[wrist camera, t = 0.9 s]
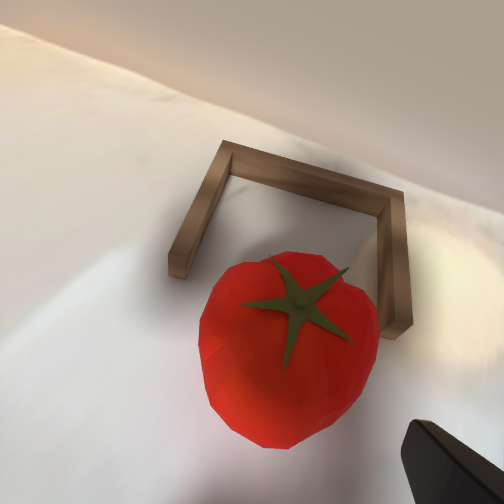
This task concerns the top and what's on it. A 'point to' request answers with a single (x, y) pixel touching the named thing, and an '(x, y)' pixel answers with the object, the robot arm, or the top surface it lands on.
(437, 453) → the robot arm
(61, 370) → the top surface
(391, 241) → the walnut bay
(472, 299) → the top surface
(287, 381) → the tomato
